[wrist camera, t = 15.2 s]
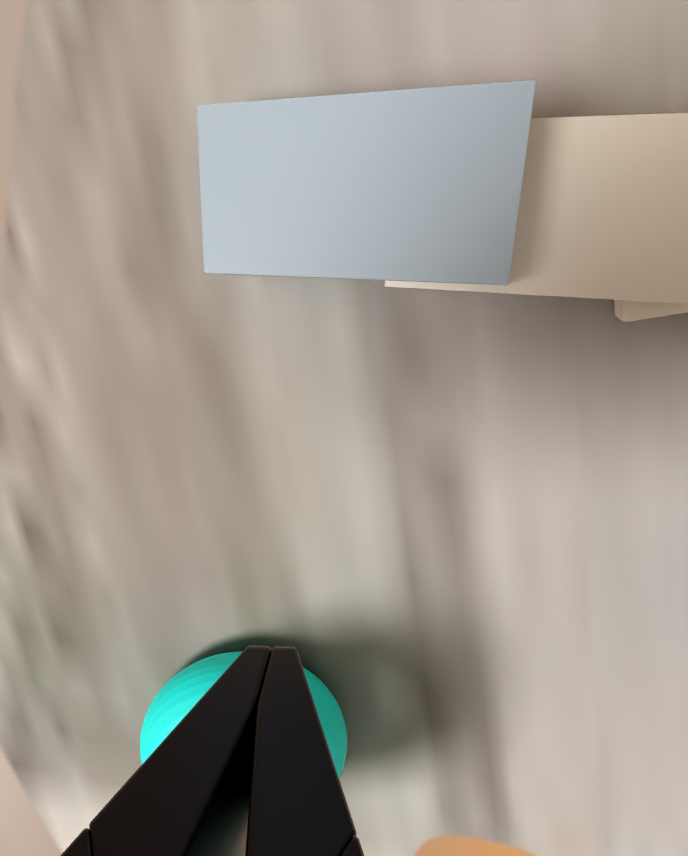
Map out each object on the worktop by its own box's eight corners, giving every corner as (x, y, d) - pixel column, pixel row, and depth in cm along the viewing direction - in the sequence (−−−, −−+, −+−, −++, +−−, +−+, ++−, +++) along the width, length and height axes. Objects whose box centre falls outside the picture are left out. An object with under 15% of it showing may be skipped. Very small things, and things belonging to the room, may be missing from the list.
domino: (230, 126, 17) (531, 107, 14) (234, 274, 18) (507, 285, 15) (197, 105, 15) (536, 79, 12) (204, 272, 16) (508, 284, 13)
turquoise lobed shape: (-31, 936, 14) (279, 852, 13) (119, 671, 24) (304, 612, 23) (128, 1102, 17) (393, 1043, 16) (204, 805, 26) (373, 757, 25)
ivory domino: (407, 141, 17) (735, 133, 14) (395, 286, 18) (690, 304, 16) (397, 123, 15) (771, 109, 12) (384, 286, 16) (716, 305, 14)
